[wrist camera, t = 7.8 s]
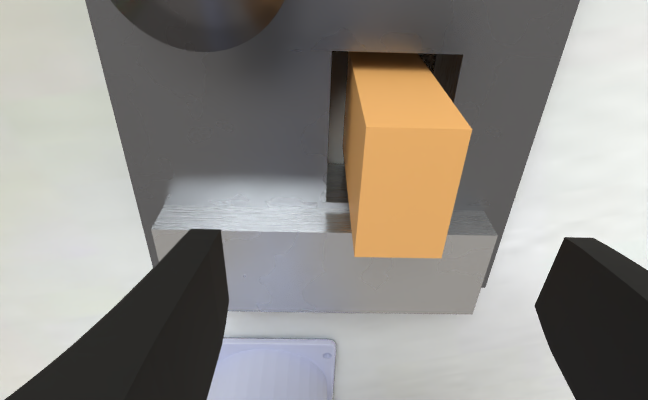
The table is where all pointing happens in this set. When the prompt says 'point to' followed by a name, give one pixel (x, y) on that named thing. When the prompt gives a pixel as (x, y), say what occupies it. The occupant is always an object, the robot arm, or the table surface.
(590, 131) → the table surface
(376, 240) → the tall orange box
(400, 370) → the table surface
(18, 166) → the table surface
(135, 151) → the grey slotted base box
